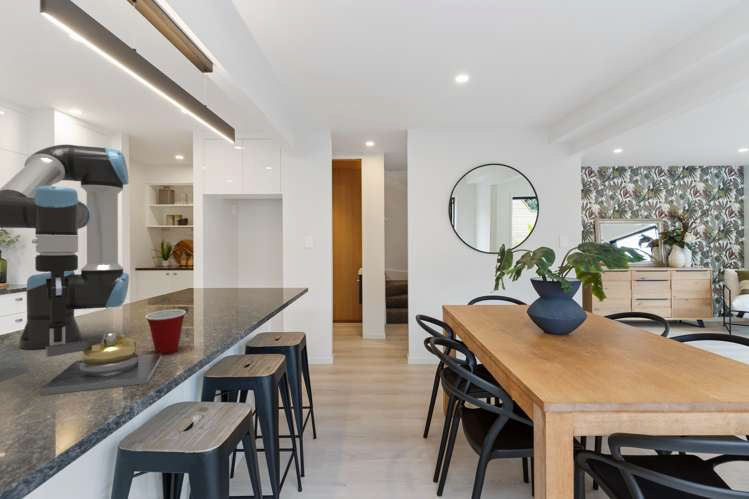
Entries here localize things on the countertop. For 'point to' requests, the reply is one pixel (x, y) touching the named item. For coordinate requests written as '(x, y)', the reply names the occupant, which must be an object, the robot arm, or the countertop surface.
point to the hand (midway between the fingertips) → (57, 354)
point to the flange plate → (102, 382)
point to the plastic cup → (166, 329)
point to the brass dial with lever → (98, 349)
